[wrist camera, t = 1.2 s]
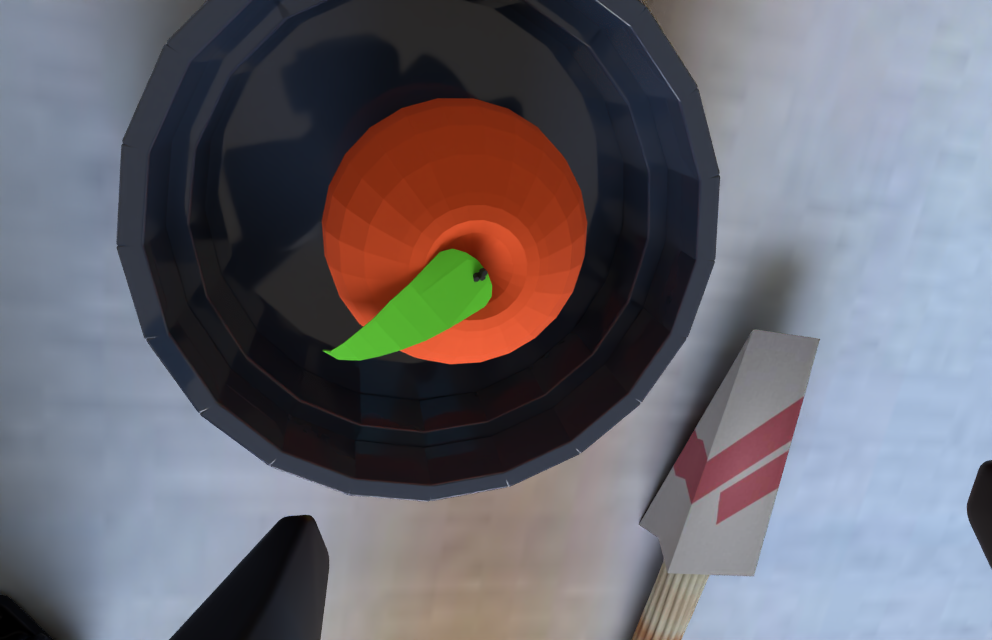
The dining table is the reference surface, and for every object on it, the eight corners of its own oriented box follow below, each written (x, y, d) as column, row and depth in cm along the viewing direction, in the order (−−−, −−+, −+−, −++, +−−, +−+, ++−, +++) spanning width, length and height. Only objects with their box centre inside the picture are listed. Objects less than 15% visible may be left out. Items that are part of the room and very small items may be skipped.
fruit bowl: (322, 488, 24) (316, 577, 20) (50, 77, 18) (-39, 88, 14) (700, 313, 25) (769, 366, 21) (564, -152, 18) (624, -208, 14)
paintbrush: (860, 360, 23) (668, 748, 30) (811, 326, 25) (644, 693, 33) (764, 345, 22) (589, 751, 29) (723, 311, 24) (571, 694, 32)
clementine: (399, 367, 23) (416, 494, 16) (249, 209, 20) (199, 289, 14) (587, 221, 22) (684, 294, 16) (461, 37, 19) (515, 34, 13)
